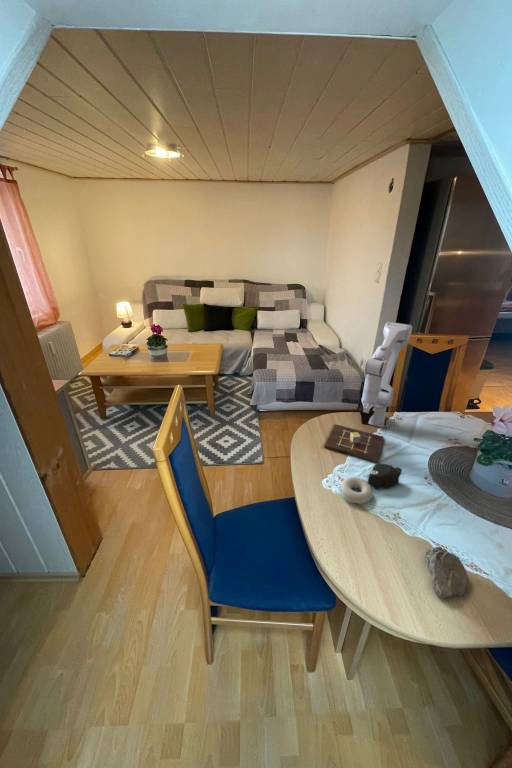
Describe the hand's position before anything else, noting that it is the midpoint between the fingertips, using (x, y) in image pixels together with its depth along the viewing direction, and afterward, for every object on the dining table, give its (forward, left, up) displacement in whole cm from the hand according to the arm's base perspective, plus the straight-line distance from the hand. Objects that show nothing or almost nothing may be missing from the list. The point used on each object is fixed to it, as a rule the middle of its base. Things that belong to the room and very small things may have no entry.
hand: (366, 419), depth 120 cm
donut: (+31, +3, -10) cm, 33 cm away
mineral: (+22, +10, -10) cm, 26 cm away
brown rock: (+48, +27, -10) cm, 56 cm away
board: (+5, -3, -9) cm, 11 cm away
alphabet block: (+5, -3, -8) cm, 10 cm away
